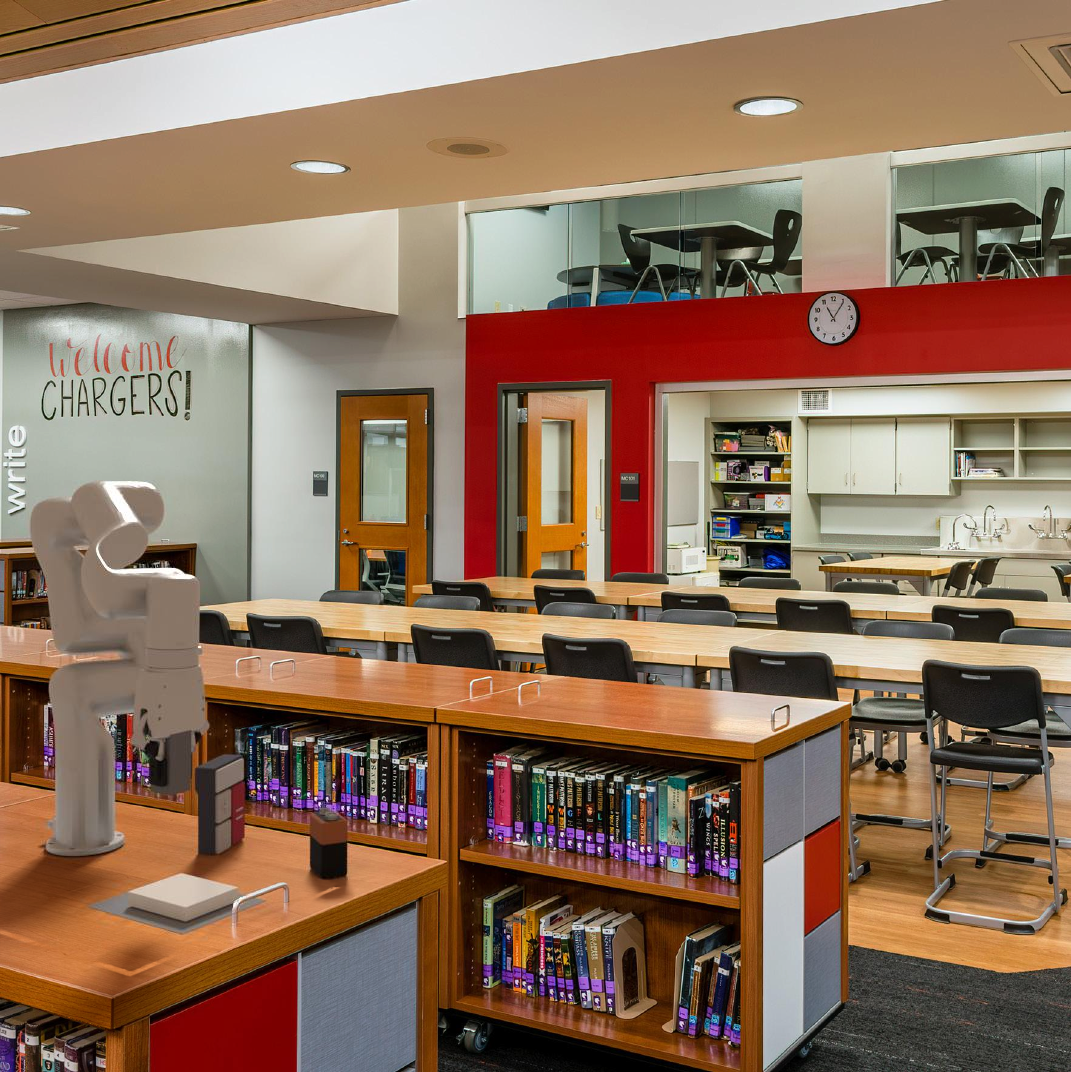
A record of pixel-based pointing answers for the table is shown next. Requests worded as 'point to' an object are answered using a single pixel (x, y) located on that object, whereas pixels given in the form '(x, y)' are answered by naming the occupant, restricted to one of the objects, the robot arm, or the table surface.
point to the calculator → (220, 803)
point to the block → (177, 764)
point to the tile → (183, 897)
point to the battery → (328, 844)
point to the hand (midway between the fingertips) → (170, 780)
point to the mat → (122, 909)
